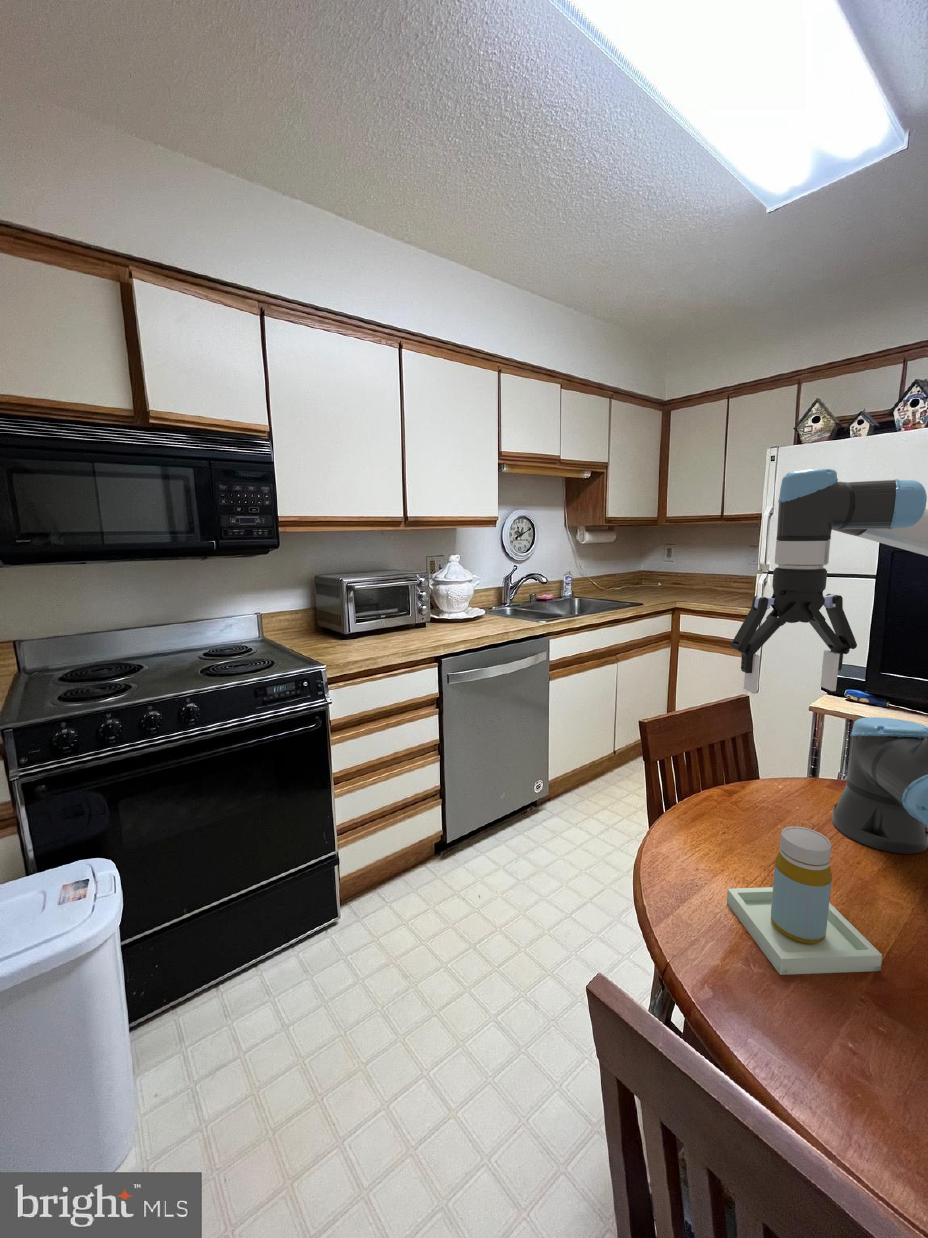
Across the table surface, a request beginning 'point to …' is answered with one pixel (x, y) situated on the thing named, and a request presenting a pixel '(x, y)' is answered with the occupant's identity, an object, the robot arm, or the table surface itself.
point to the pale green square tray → (790, 957)
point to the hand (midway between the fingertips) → (789, 690)
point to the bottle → (802, 885)
